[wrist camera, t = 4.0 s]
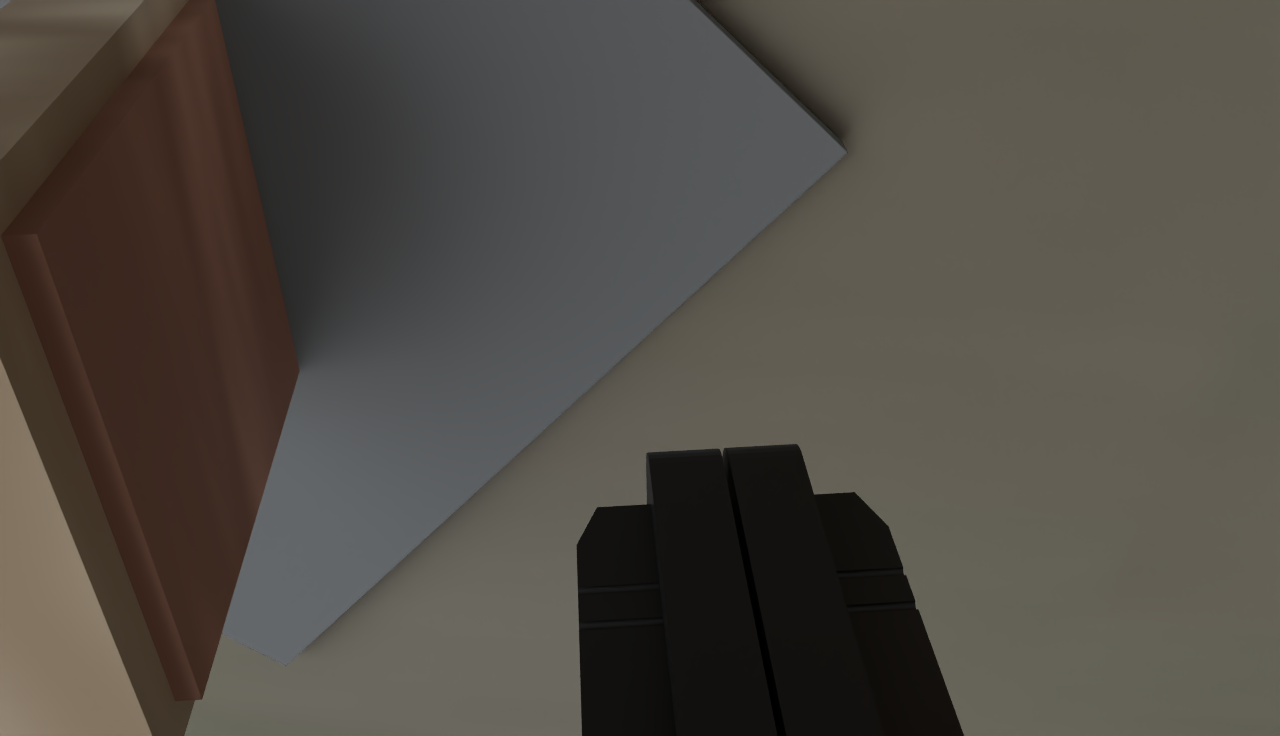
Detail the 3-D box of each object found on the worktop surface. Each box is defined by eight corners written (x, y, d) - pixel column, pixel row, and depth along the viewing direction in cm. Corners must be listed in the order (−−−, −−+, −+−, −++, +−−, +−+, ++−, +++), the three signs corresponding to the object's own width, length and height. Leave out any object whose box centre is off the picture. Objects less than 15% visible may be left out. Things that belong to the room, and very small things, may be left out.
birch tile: (197, 378, 20) (24, 790, 13) (72, -52, 16) (-267, 233, 9) (312, 371, 20) (197, 779, 13) (217, -58, 16) (-16, 219, 9)
